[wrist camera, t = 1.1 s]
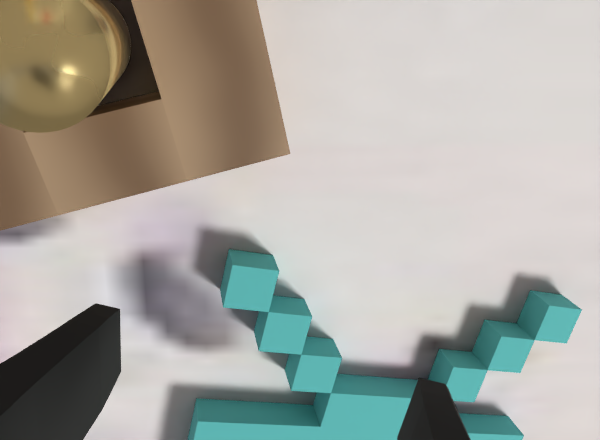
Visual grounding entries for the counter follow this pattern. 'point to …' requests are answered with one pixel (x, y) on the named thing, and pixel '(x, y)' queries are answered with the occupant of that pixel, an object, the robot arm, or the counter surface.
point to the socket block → (156, 118)
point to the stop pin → (58, 60)
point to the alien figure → (355, 388)
